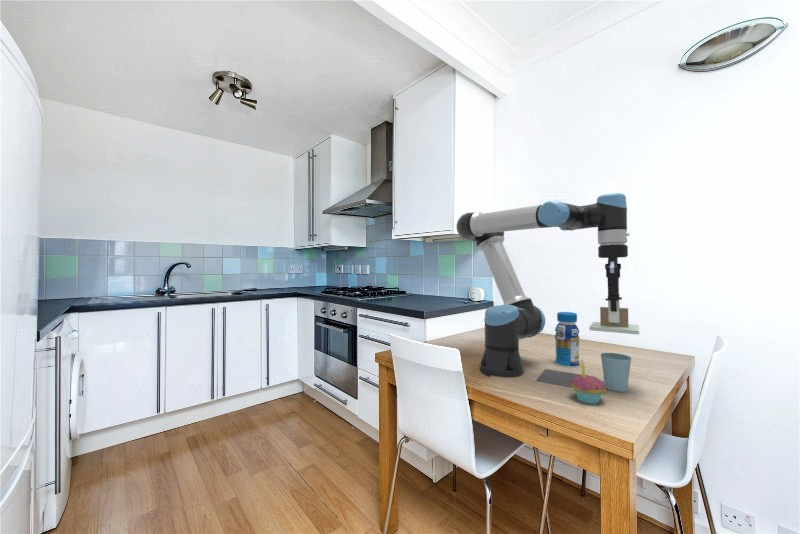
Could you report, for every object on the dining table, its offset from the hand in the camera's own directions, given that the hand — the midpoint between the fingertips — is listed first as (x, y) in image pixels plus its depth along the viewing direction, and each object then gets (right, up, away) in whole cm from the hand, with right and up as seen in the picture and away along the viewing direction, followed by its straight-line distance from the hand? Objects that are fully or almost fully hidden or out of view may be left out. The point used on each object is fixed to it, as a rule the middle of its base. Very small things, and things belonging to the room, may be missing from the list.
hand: (614, 321), depth 97 cm
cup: (0, -21, 0) cm, 21 cm away
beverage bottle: (-1, -21, +25) cm, 33 cm away
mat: (-11, -21, +8) cm, 25 cm away
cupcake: (-13, -21, -8) cm, 26 cm away
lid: (0, -2, 0) cm, 2 cm away
